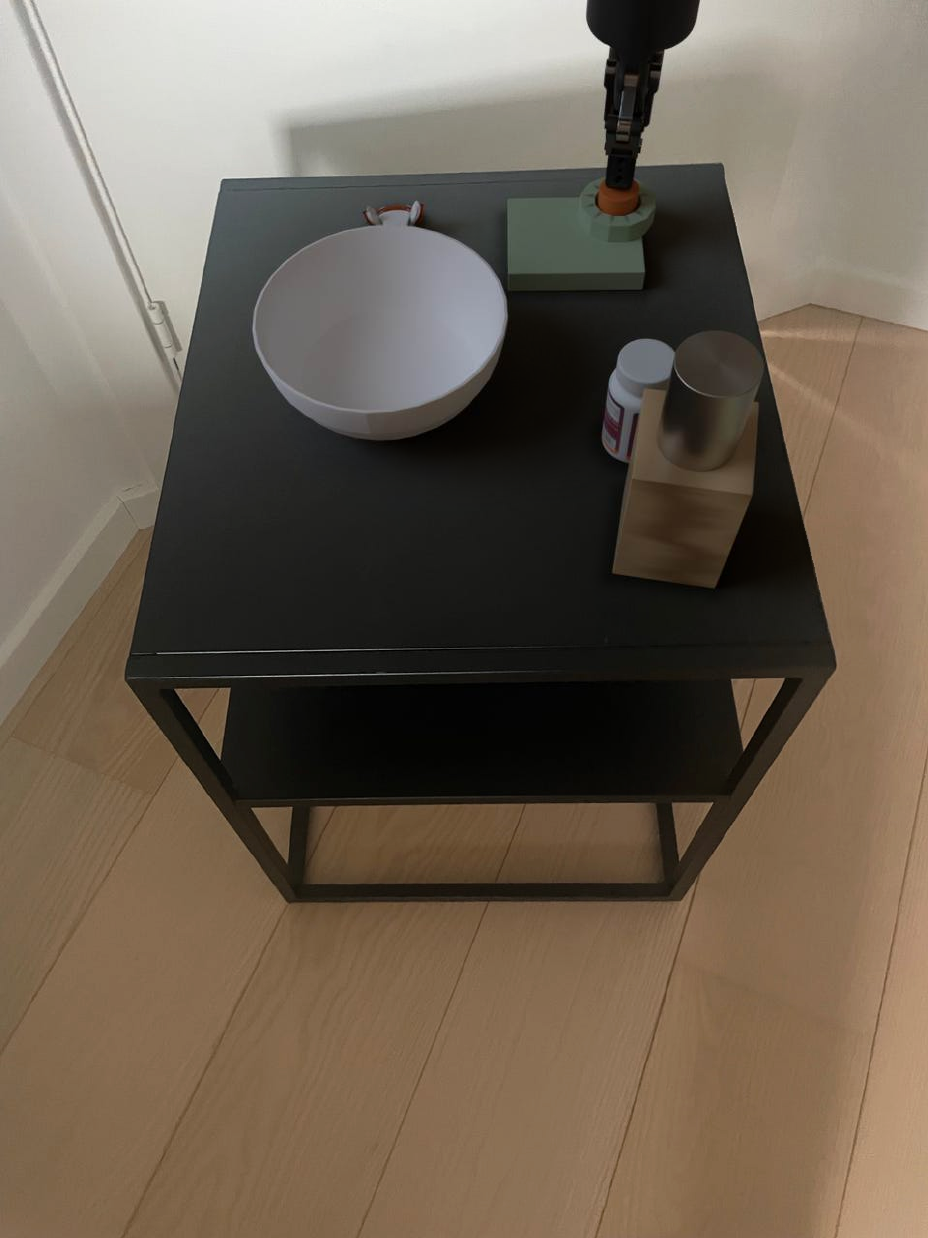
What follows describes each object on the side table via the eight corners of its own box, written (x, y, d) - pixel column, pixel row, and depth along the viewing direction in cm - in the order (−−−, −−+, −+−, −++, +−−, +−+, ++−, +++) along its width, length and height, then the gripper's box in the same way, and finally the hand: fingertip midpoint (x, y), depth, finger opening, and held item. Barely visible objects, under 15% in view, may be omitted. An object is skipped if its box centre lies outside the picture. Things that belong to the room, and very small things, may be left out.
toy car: (426, 209, 84) (424, 177, 81) (427, 274, 80) (425, 243, 77) (367, 212, 84) (362, 180, 81) (365, 277, 80) (360, 247, 77)
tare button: (635, 190, 79) (638, 173, 78) (638, 216, 78) (640, 200, 76) (596, 190, 79) (598, 174, 78) (598, 217, 78) (600, 201, 77)
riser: (721, 505, 68) (759, 401, 58) (715, 589, 65) (753, 494, 55) (623, 491, 69) (644, 387, 59) (612, 573, 66) (631, 478, 56)
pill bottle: (674, 426, 72) (694, 345, 64) (652, 473, 70) (670, 396, 62) (614, 406, 73) (627, 325, 65) (591, 452, 71) (601, 374, 63)
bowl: (512, 299, 78) (513, 226, 72) (501, 482, 70) (502, 417, 63) (291, 294, 79) (273, 221, 73) (254, 473, 71) (230, 409, 64)
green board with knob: (646, 209, 83) (652, 174, 80) (655, 289, 78) (661, 255, 75) (507, 212, 83) (507, 176, 80) (507, 291, 79) (508, 257, 76)
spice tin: (739, 413, 58) (766, 335, 52) (734, 476, 56) (761, 402, 50) (660, 403, 59) (677, 325, 53) (652, 465, 56) (670, 391, 51)
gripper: (700, 14, 58) (657, 245, 74) (715, -102, 64) (673, 134, 79) (577, 4, 59) (561, 234, 74) (604, -109, 65) (583, 126, 80)
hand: (619, 182), depth 77 cm, fingers closed
